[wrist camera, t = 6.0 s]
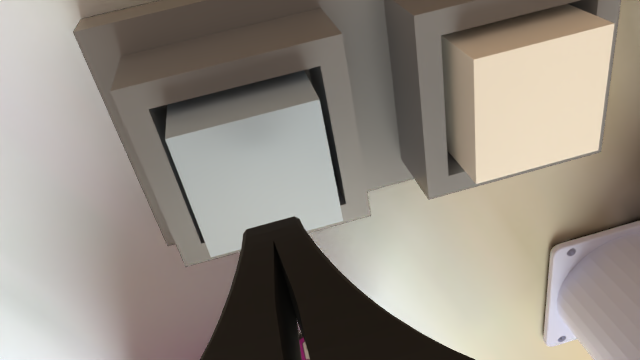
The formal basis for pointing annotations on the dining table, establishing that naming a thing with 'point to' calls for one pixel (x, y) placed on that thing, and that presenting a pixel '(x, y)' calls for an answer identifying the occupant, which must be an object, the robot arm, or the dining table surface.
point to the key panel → (320, 67)
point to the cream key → (525, 90)
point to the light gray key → (253, 158)
